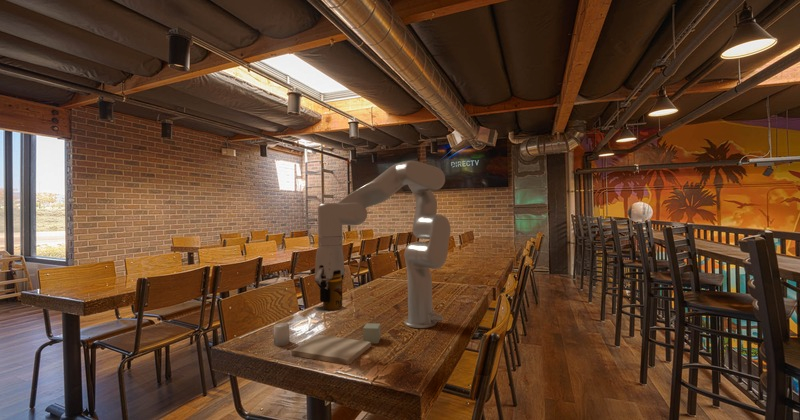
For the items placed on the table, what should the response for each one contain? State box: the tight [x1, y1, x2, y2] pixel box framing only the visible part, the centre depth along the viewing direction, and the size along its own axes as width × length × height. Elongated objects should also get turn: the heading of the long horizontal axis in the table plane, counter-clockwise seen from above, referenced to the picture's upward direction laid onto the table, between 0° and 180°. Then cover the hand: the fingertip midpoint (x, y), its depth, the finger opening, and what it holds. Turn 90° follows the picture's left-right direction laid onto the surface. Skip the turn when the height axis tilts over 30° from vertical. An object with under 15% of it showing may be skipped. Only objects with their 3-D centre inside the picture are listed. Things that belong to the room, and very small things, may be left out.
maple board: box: [291, 334, 372, 365], centre depth 105 cm, size 20×14×2 cm
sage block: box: [362, 322, 382, 344], centre depth 113 cm, size 5×5×5 cm
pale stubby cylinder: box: [273, 322, 291, 347], centre depth 112 cm, size 5×5×6 cm
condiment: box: [313, 270, 348, 314], centre depth 105 cm, size 7×8×12 cm
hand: (331, 298), depth 105 cm, fingers closed on condiment, 6 cm apart
